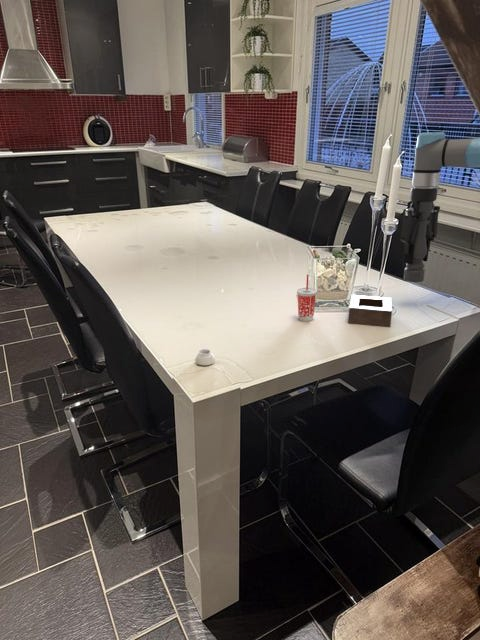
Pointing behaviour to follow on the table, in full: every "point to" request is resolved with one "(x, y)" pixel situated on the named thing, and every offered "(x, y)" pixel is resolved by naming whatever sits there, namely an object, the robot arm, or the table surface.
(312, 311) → the beverage cup
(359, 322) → the block
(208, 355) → the white jar
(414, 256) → the candle holder
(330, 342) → the table surface
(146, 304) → the table surface
